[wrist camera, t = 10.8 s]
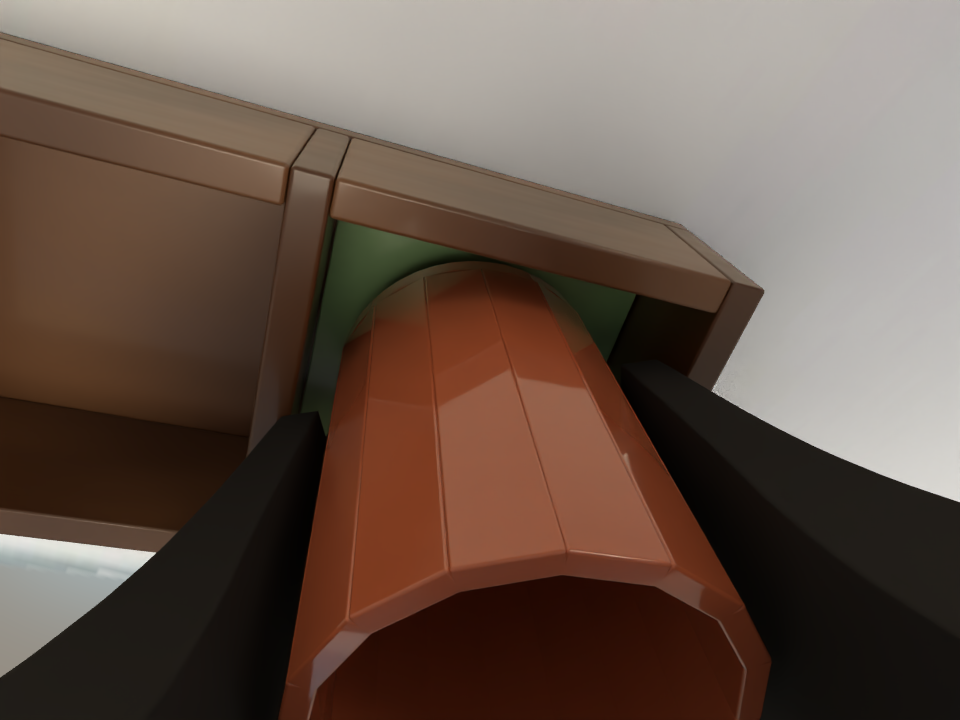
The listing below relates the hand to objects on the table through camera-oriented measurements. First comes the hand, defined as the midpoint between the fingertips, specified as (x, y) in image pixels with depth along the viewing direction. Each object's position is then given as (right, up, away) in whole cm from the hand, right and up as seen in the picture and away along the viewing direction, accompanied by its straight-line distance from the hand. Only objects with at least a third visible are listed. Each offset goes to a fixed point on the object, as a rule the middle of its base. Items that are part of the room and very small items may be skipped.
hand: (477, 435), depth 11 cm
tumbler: (0, +1, +2) cm, 2 cm away
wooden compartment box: (-4, +2, +2) cm, 5 cm away
